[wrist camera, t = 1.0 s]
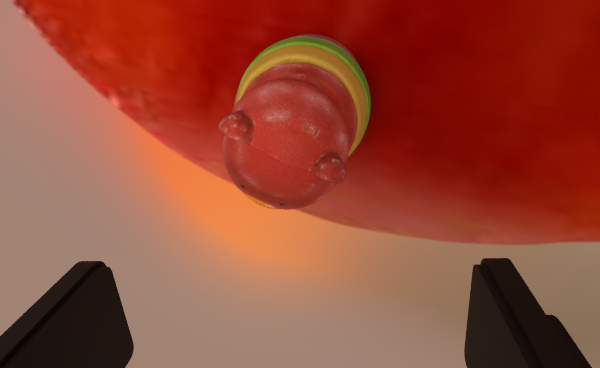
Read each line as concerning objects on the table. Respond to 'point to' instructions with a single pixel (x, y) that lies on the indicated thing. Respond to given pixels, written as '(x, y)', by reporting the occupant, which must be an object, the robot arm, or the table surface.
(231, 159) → the stacking bear
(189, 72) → the table surface
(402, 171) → the table surface
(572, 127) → the table surface
